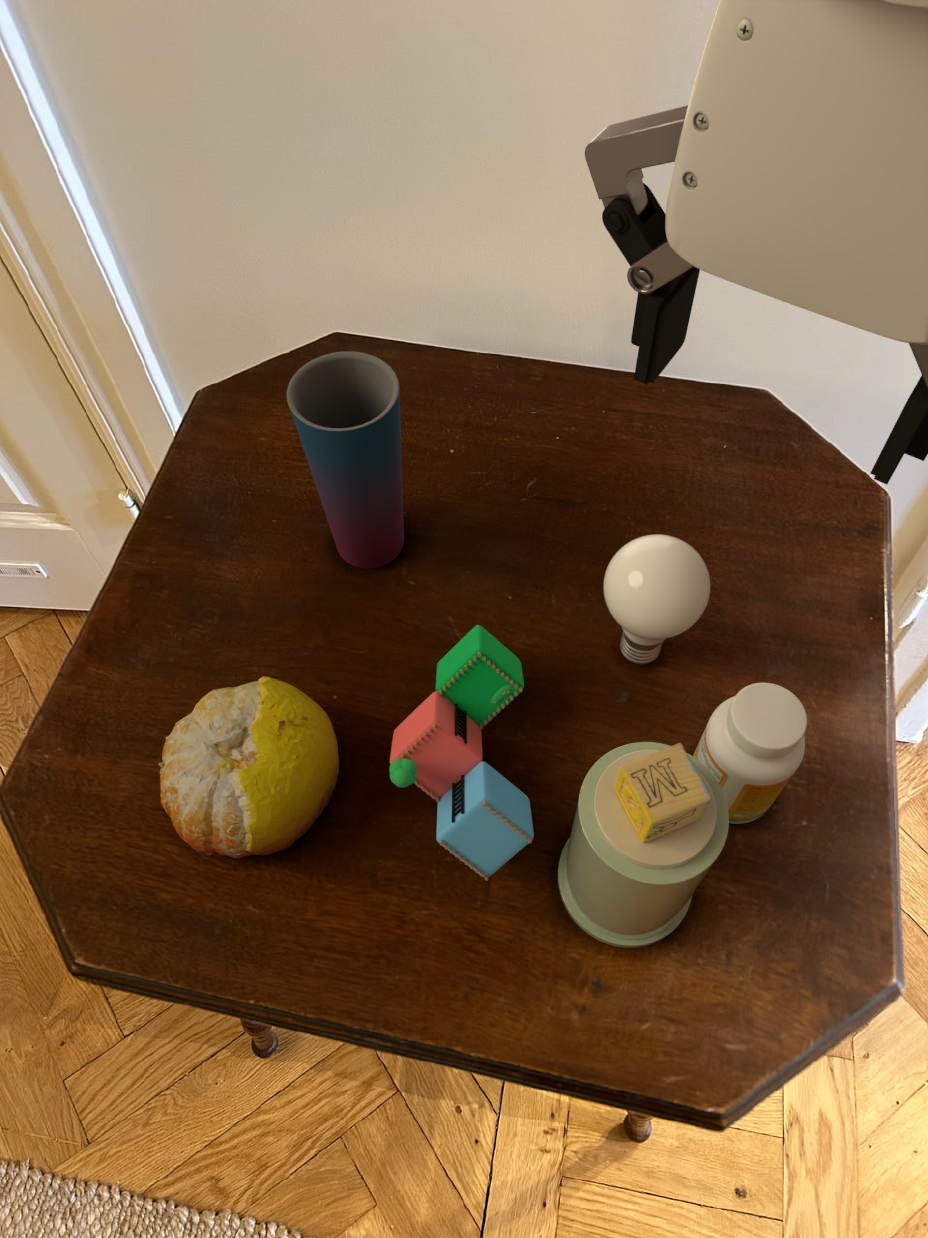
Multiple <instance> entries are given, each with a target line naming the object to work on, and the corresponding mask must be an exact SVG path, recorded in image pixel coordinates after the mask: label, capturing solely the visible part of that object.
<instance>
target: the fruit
mask: <svg viewBox="0 0 928 1238" xmlns="http://www.w3.org/2000/svg"><path fill="white" fill-rule="evenodd" d="M161 753H162V754H161V759H162V760H161V761H160V762H158V763H157V765H158V766H159V767H160V769H159V788H160V795H159V796H160V804H161V806H162V808H163V810H164V811H165V813H166V815H168V817H169V818H170V820H171V823H172V826H173V828H174V830H175V831H176V834H178V836H179V838H180V839H181V840H182V841H184V842H185V843H187V844H188V845H189V846H190V847H191V848H192V849H193V850H194V851H196V852H198V853H203V854H205V855H206V856H211V855H213V854H214V853H216V854H219V855H220V856H228V857H231V858H233V859H241V858H246V857H250V856H254V855H255V856H260V855H261V856H269V855H273V854H274V853H277V852H281V851H283V850H284V851H286V850H287V849H290V847H291V846H293V844H294V842H296V841H297V840H299V839H300V838H301V837H302V836H304V835H305V834H306V833H307V832H308V831H309V830H311V828H312V827H313V826H314V825H315V822H316V821H317V820H318V819H319V818H320V816H321V815H322V813H323V810H324V809H325V807H327V805H328V804H329V803H330V800H331V799H332V797H333V794H334V791H335V789H336V785H337V782H338V777H339V773H340V757H339V756H340V754H339V745H338V740H337V736H336V733H335V730H334V727H333V724H332V721H331V719H330V717H329V716H328V714H327V712H326V711H325V710H324V709H323V708H322V707H321V706H320V705H319V704H318V703H317V702H316V701H315V700H313V699H312V698H311V697H310V696H308V695H307V694H306V693H305V692H303V691H301V689H299V688H297V687H295V686H294V685H292V684H290V683H288V682H285V681H282V680H279V679H277V678H273V677H270V676H266V675H265V676H262V677H260V678H258V680H256V681H250V682H247V683H244V684H243V683H242V684H241V685H238V686H233V687H231V686H230V687H229V686H228V687H223V688H217V689H212V690H211V691H209V692H208V693H207V694H205V695H204V696H203V697H201V699H200V700H199V701H198V702H197V703H195V706H194V708H193V710H192V711H191V712H190V713H189V714H187V715H186V716H184V717H183V718H181V719H180V720H178V721H177V722H175V724H174V726H173V728H172V731H171V732H170V734H169V735H168V736H165V742H164V744H163V748H162V752H161Z"/></svg>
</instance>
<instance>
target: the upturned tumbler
mask: <svg viewBox="0 0 928 1238" xmlns="http://www.w3.org/2000/svg"><path fill="white" fill-rule="evenodd" d="M671 746H672V745H669V744H666V743H661V742H655V741H640V742H632V743H627V744H624V745H621V746H618V747H616V748H614V749H611V750H610V751H608V752H606V753H605V754H603V755H602V756H601V757H600V758H598V760H597V761H595V763H594V764H593V765H592V766H591V767H590V769H589V770H588V772H587V773H586V775H585V777H584V779H583V782H582V783H581V787H580V791H579V794H578V800H577V804H576V808H575V813H574V815H573V821H572V825H571V830H570V835H569V838H568V839H567V841H566V842H565V844H564V845H563V848H562V850H561V853H560V857H559V860H558V864H557V865H558V866H557V887H558V891H559V896H560V899H561V901H562V904H563V906H564V908H565V910H566V911H567V913H568V915H569V916H570V918H571V919H572V920H573V922H574V923H575V924H576V925H577V926H578V927H579V928H580V929H581V930H582V931H583V932H585V933H586V934H588V936H590V937H592V938H594V939H595V940H596V941H599V942H601V943H603V944H606V945H609V946H613V947H617V948H622V949H623V948H624V949H637V948H644V947H648V946H650V945H653V944H656V943H658V942H661V941H662V940H664V939H665V938H667V937H668V936H669V935H671V934H672V933H673V932H674V931H675V930H676V928H678V927H679V925H680V924H681V923H682V921H683V919H684V918H685V917H686V915H687V912H688V910H689V908H690V905H691V902H692V897H693V895H694V893H695V892H696V890H697V888H698V887H699V885H700V884H701V882H702V881H703V880H704V878H705V877H706V875H707V873H708V872H709V871H710V869H711V868H712V866H713V865H714V863H715V862H716V860H717V859H718V857H719V856H720V854H721V853H722V851H723V849H724V847H725V844H726V841H727V838H728V835H729V827H730V823H729V813H728V806H727V803H726V799H725V796H724V794H723V791H722V789H721V787H720V785H719V784H718V782H717V780H716V779H715V777H714V776H713V775H712V773H711V772H710V771H709V770H708V769H707V768H706V767H705V766H704V765H703V764H702V763H701V762H700V761H698V760H697V759H696V758H694V757H693V755H692V754H690V753H688V752H686V753H687V755H688V756H689V758H690V759H691V761H692V763H693V765H694V767H695V768H696V770H697V772H698V774H699V775H700V777H701V779H702V781H703V782H704V784H705V786H706V788H707V789H708V791H709V793H710V795H711V797H712V800H711V802H710V804H709V806H708V807H707V809H706V811H705V812H704V814H703V815H702V817H701V819H700V820H697V821H695V822H692V823H690V824H687V825H685V826H683V827H680V828H678V829H676V830H673V831H671V832H668V833H666V834H664V835H662V836H659V837H657V838H655V839H652V840H650V841H647V842H645V843H643V842H641V840H640V838H639V836H638V834H637V832H636V830H635V828H634V826H633V825H632V823H631V821H630V819H629V817H628V815H627V813H626V811H625V809H624V807H623V805H622V803H621V802H620V800H619V798H618V796H617V794H616V792H615V789H614V787H615V784H616V781H617V778H618V775H619V771H620V768H621V767H622V766H623V765H626V764H628V763H631V762H633V761H636V760H638V759H641V758H643V757H646V756H648V755H651V754H653V753H656V752H658V751H661V750H663V749H666V748H668V747H671Z"/></svg>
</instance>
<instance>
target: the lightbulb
mask: <svg viewBox="0 0 928 1238" xmlns="http://www.w3.org/2000/svg"><path fill="white" fill-rule="evenodd" d="M602 585H603V586H602V588H603V590H602V591H603V597H604V602H605V605H606V607H607V610H608V611H609V614H610V615H611V616H612V618H613V619H614V621H615V622H616V623H617V624H618V625H619V626H620V627H621V629H622V634H621V637H620V643H619V650H620V652H621V654H622V656H623V657H624V658H625V659H626V660H627V661H629V662H631V663H633V664H636V665H648V664H651V663H653V662H655V661H656V660H657V658H658V657H659V655H660V653H661V649H662V646H663V643H664V641H665V640H667V639H670V638H674V637H677V636H679V635H681V634H684V632H686V631H688V630H689V629H691V628H692V627H693V626H694V625H695V624H696V623H697V622H698V621H699V620H700V619H701V617H702V616H703V614H704V612H705V611H706V609H707V606H708V604H709V601H710V597H711V587H712V586H711V576H710V573H709V569H708V566H707V564H706V562H705V561H704V558H703V557H702V556H701V555H700V553H699V552H698V551H697V550H696V549H695V548H694V547H693V546H692V545H690V544H689V543H688V542H687V541H684V540H683V539H681V538H678V537H675V536H673V535H668V534H662V533H654V534H653V533H652V534H646V535H642V536H638V537H637V538H634V539H632V540H630V541H628V542H627V543H625V544H624V545H623V546H621V547H620V549H618V550H617V551H616V552H615V554H614V555H613V556H612V558H611V559H610V561H609V562H608V564H607V566H606V569H605V574H604V576H603V584H602Z"/></svg>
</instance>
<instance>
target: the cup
mask: <svg viewBox="0 0 928 1238" xmlns="http://www.w3.org/2000/svg"><path fill="white" fill-rule="evenodd" d="M400 390H401V389H400V382H399V378H398V377H397V374H396V372H395V371H394V370H393V368H392V367H391V366H390V365H389V364H388V363H387V362H386V361H384V360H382V359H381V358H378V357H377V356H375V355H371V354H370V353H365V352H360V351H336V352H331V353H327V354H323V355H321V356H318V357H316V358H314V359H311V360H310V361H308V362H307V363H305V364H304V365H302V366H301V367H300V368H299V369H298V370H297V371H296V372H295V373H294V374H293V375H292V377H291V379H290V381H289V382H288V385H287V389H286V403H287V405H288V408H289V411H290V414H291V417H292V420H293V423H294V426H295V428H296V429H295V430H296V432H297V434H298V437H299V438H298V439H299V440H300V443H301V446H302V449H303V452H304V455H305V459H306V462H307V463H308V467H309V469H310V473H311V476H312V479H313V482H314V485H315V489H316V491H317V494H318V497H319V499H320V502H321V505H322V508H323V511H324V515H325V517H326V520H327V523H328V526H329V529H330V532H331V535H332V537H333V541H334V543H335V547H336V549H337V552H338V554H339V556H340V558H341V559H342V560H344V561H345V562H346V563H347V564H349V565H351V566H353V567H356V568H358V569H359V568H360V569H377V568H380V567H383V566H385V565H389V564H390V563H391V562H392V561H394V560H395V559H396V558H397V557H398V556H399V555H400V553H401V551H402V549H403V547H404V545H405V544H404V543H405V526H404V493H403V491H404V490H403V463H402V461H403V459H402V457H403V456H402V430H401V429H402V427H401V394H400V393H401V392H400Z"/></svg>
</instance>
